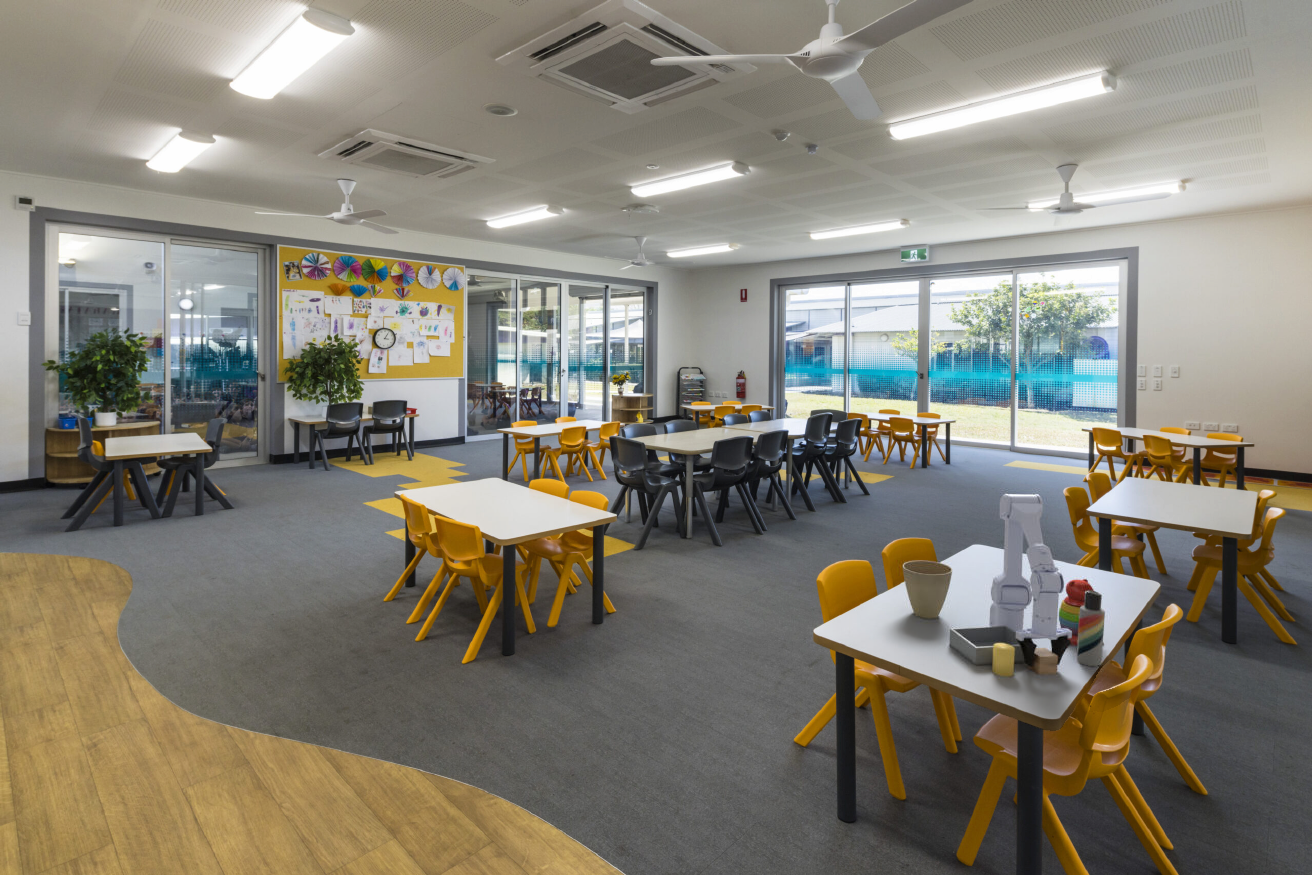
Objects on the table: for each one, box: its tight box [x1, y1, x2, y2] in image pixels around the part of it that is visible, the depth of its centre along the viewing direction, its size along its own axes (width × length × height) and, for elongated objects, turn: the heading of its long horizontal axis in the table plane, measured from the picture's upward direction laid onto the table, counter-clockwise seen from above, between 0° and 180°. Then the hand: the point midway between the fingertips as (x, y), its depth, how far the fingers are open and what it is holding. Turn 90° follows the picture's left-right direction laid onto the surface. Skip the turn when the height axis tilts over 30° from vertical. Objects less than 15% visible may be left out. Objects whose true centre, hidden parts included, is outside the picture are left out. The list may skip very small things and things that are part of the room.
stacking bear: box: [1058, 578, 1095, 647], centre depth 197 cm, size 11×10×18 cm
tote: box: [949, 625, 1025, 666], centre depth 188 cm, size 17×13×5 cm
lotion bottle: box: [1076, 590, 1106, 667], centre depth 181 cm, size 6×6×20 cm
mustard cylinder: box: [991, 643, 1015, 678], centre depth 177 cm, size 5×5×7 cm
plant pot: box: [902, 560, 953, 620], centre depth 216 cm, size 15×15×16 cm
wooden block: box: [1026, 647, 1058, 676], centre depth 178 cm, size 5×5×5 cm
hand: (1042, 664), depth 178 cm, fingers open, 7 cm apart
